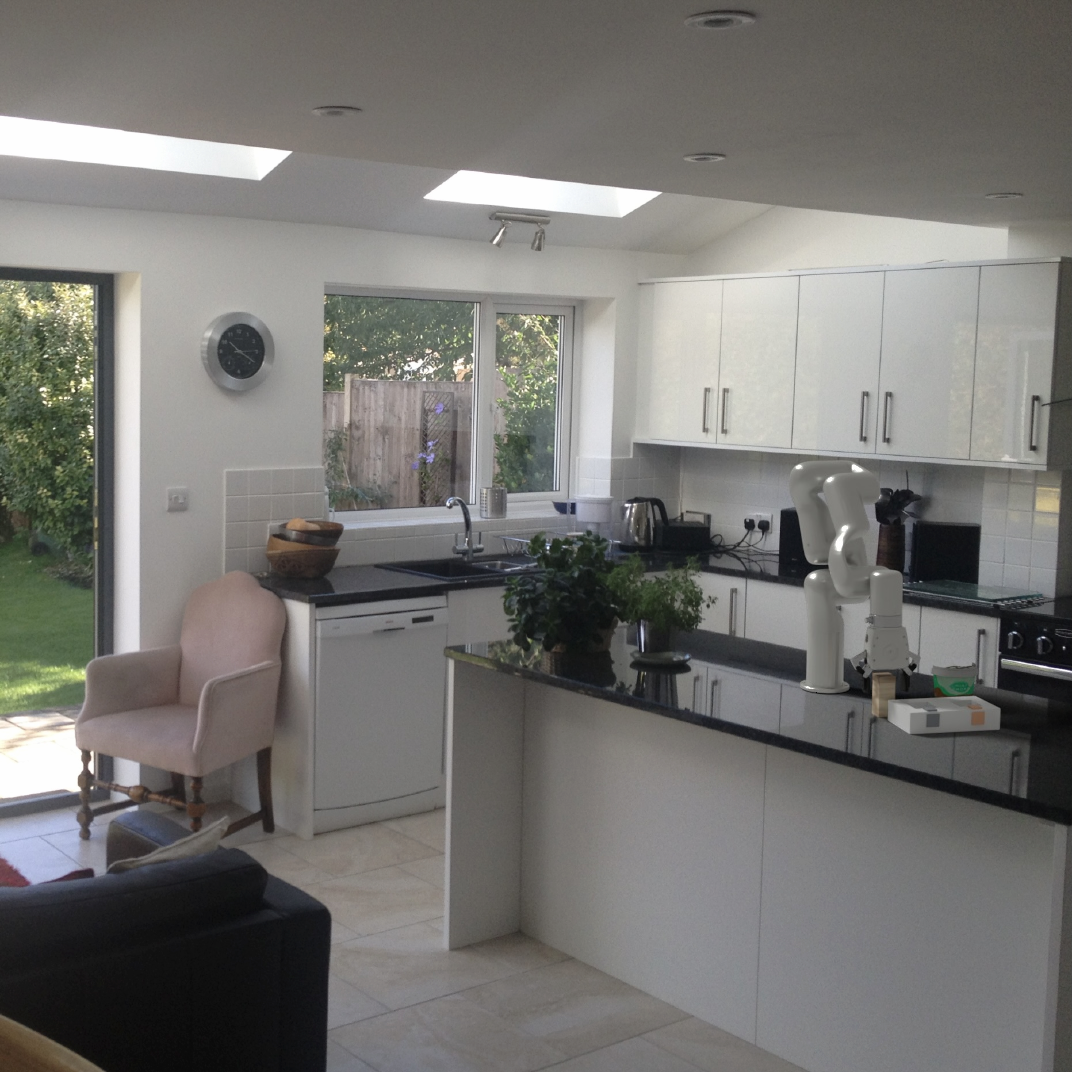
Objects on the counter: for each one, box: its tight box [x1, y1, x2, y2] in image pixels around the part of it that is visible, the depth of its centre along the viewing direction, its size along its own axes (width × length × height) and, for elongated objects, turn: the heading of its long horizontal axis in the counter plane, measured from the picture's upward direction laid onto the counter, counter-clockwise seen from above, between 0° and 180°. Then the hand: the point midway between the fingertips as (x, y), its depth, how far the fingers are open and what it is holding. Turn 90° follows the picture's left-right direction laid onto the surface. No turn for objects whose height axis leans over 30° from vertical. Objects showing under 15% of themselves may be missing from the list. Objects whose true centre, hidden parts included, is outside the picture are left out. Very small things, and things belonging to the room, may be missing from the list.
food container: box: [930, 662, 979, 698], centre depth 316 cm, size 12×6×10 cm, turn 105°
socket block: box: [887, 695, 1001, 735], centre depth 298 cm, size 12×22×5 cm, turn 99°
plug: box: [871, 672, 897, 718], centre depth 308 cm, size 4×4×10 cm
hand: (885, 691), depth 307 cm, fingers open, 9 cm apart
